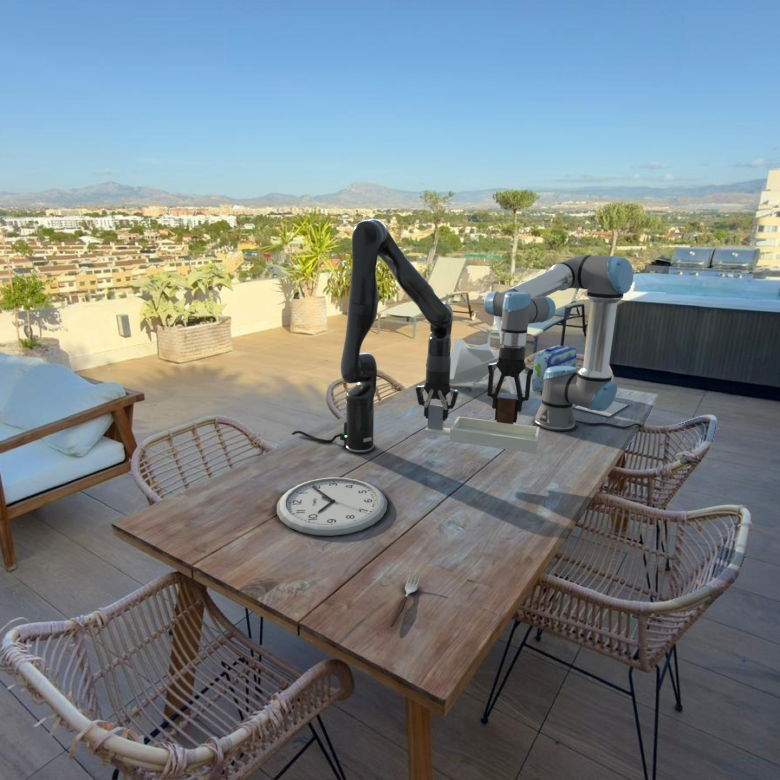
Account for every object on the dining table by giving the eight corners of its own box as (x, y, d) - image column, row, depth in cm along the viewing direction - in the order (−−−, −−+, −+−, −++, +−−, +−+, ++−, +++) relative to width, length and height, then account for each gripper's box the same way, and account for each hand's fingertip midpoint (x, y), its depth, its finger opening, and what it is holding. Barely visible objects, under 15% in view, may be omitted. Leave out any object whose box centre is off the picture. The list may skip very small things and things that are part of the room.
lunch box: (548, 398, 236) (553, 353, 229) (527, 393, 243) (531, 349, 237) (575, 387, 253) (581, 344, 247) (555, 382, 260) (560, 341, 254)
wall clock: (392, 527, 129) (268, 531, 127) (391, 533, 130) (269, 537, 127) (383, 473, 158) (282, 475, 155) (383, 478, 158) (282, 480, 156)
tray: (538, 438, 165) (541, 412, 162) (535, 453, 154) (538, 425, 151) (430, 423, 176) (432, 398, 173) (421, 436, 165) (422, 409, 162)
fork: (384, 627, 99) (384, 618, 99) (410, 577, 114) (410, 569, 113) (397, 631, 99) (397, 622, 98) (421, 580, 113) (421, 572, 112)
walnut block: (514, 419, 162) (517, 394, 160) (513, 424, 157) (515, 399, 155) (498, 417, 163) (500, 392, 161) (496, 422, 159) (498, 397, 157)
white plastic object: (461, 429, 252) (437, 405, 227) (444, 352, 274) (420, 323, 250) (535, 404, 240) (518, 377, 215) (510, 326, 262) (492, 293, 237)
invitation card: (608, 416, 214) (573, 407, 224) (608, 416, 214) (573, 408, 224) (628, 404, 229) (594, 396, 238) (628, 405, 229) (594, 397, 238)
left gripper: (463, 367, 164) (460, 418, 169) (419, 362, 168) (417, 412, 173) (458, 373, 157) (455, 425, 162) (412, 368, 162) (411, 419, 167)
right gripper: (545, 345, 154) (536, 419, 161) (484, 340, 160) (478, 412, 166) (543, 351, 147) (535, 428, 154) (479, 345, 153) (474, 420, 160)
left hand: (435, 418), depth 168 cm, fingers closed on tray, 5 cm apart
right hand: (505, 419), depth 160 cm, fingers closed on walnut block, 5 cm apart
